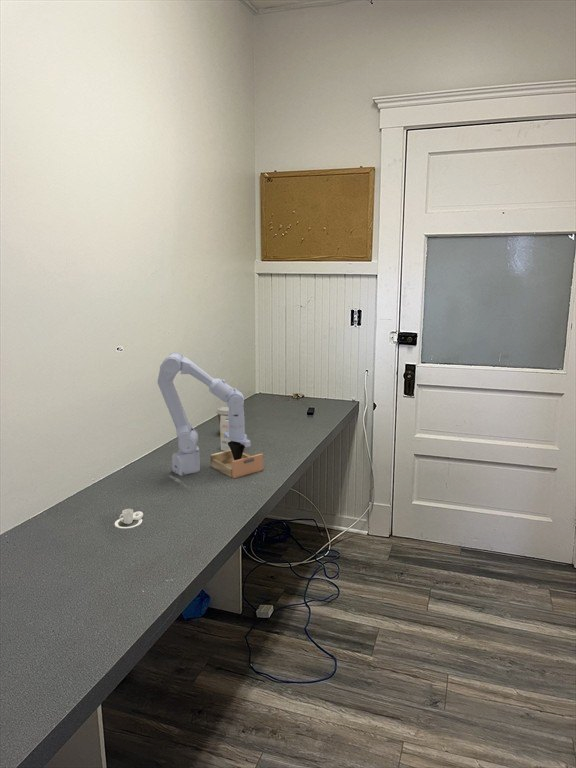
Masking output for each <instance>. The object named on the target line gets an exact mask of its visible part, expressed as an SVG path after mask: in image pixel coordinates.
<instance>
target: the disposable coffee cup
mask: <svg viewBox="0 0 576 768" xmlns="http://www.w3.org/2000/svg"><path fill="white" fill-rule="evenodd" d="M228 412H229V407H228V405H222V406H218V407H217V409H216V413H217V417H218V418H217V419H218V424H219V425H220V416H221V415H222V416H228ZM226 420H228V419H226Z"/></svg>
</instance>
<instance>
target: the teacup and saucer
mask: <svg viewBox="0 0 576 768" xmlns="http://www.w3.org/2000/svg"><path fill="white" fill-rule="evenodd" d="M121 512H122V513H121V514H119V519H117V520H116V521H114V526H115V528H117V529H123V530H125V529H132V528H135V527H138V526H140V525H141V524H142V522H143V517H144V513H143V511H135V512H134V510H133V508H126V509H123V510H122V511H121ZM120 521H121V522H122V523H123V524H125V525H129V526H120V525H119V523H120ZM133 521H138V522H137V523H136V524H134V525H130V524H132V523H133Z"/></svg>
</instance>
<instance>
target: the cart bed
mask: <svg viewBox="0 0 576 768" xmlns="http://www.w3.org/2000/svg"><path fill="white" fill-rule="evenodd" d="M250 456H251V455H249V454H248V453H245V452H243V454H242V458H246V457H250ZM209 458H210V467H211V468H213V469H215V470H217V471H218V472H219V473H220V472H221V473H222V474H224V475H226V476H228V477H230V478H232V461H234V458H233V455H232V452H231V450H227V451H223V450H222V451H220V452H215V453H211V454H210V457H209ZM242 458H241V459H242ZM232 479H233V478H232Z"/></svg>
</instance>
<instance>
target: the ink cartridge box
mask: <svg viewBox="0 0 576 768" xmlns="http://www.w3.org/2000/svg"><path fill="white" fill-rule="evenodd" d="M226 419H228V416H222V415H221V416H220V424H219V429H220V430H219V432H220V433H219V435H220V450H221V451H222V452H223V451H227V450H231V449H230V447H229V446H228V442H231V441H230V440H229V439H228V438H224V432H229V423H228V420H226Z"/></svg>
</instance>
